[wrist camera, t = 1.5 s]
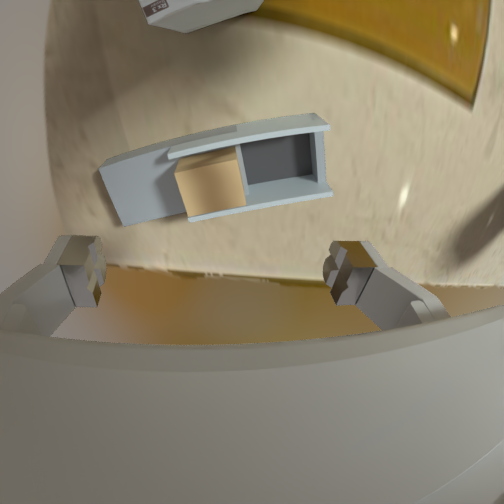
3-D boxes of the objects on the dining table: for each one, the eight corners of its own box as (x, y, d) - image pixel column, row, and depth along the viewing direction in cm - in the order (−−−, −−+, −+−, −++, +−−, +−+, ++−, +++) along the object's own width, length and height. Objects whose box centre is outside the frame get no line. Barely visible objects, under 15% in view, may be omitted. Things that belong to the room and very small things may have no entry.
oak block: (235, 146, 29) (236, 159, 26) (243, 187, 32) (246, 205, 29) (179, 158, 29) (174, 173, 26) (191, 198, 32) (188, 216, 29)
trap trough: (314, 113, 30) (329, 124, 26) (319, 175, 35) (333, 196, 31) (107, 159, 31) (90, 178, 26) (129, 214, 36) (118, 238, 32)
